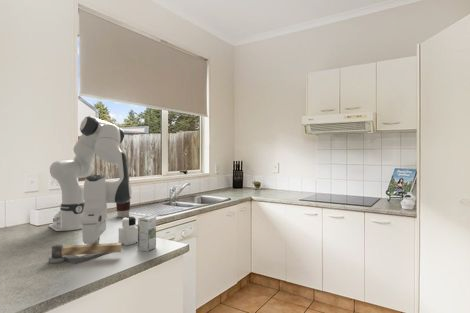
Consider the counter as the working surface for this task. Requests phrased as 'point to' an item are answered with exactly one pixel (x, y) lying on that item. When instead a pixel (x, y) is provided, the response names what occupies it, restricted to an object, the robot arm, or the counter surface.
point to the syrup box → (146, 233)
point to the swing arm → (85, 249)
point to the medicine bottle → (128, 231)
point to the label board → (74, 258)
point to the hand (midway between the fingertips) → (95, 247)
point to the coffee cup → (123, 209)
